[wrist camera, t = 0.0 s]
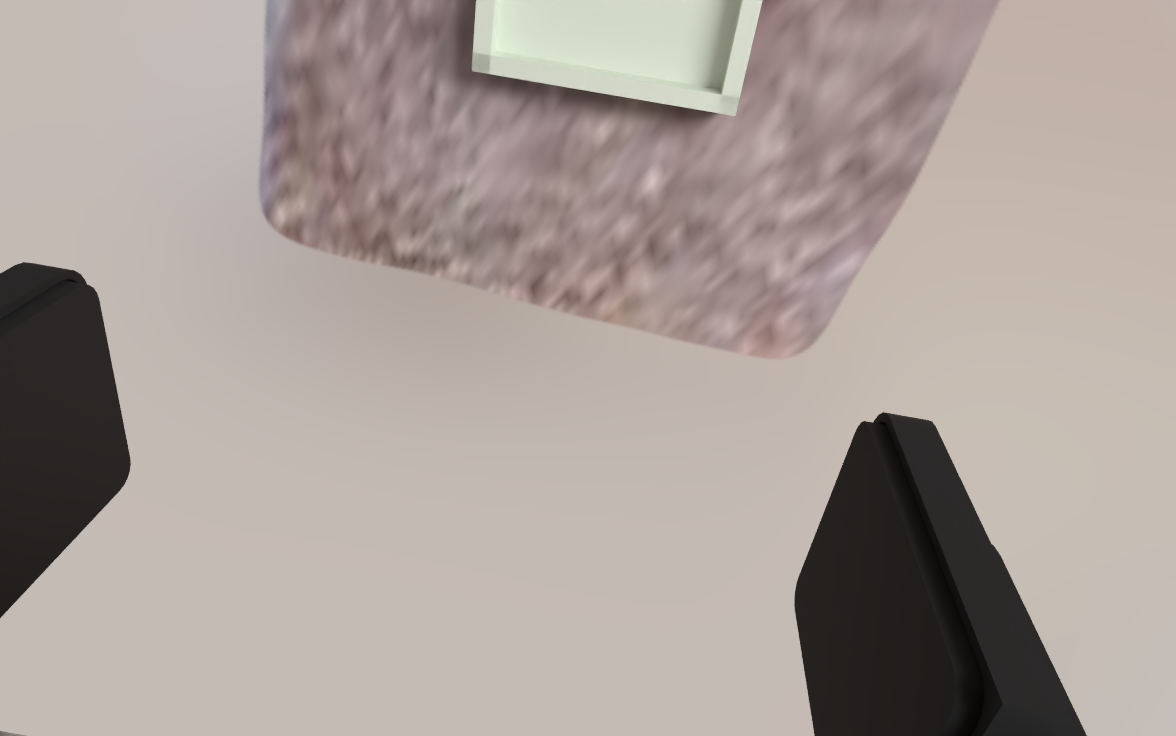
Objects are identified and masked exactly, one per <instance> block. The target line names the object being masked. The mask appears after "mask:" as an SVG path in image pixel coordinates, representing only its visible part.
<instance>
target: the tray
mask: <svg viewBox="0 0 1176 736" xmlns="http://www.w3.org/2000/svg"><path fill="white" fill-rule="evenodd" d="M761 4H762V0H476V11H475V27H474V42H473V58H472V71H474V72H480V73H486V74H492V75H498V76H504V77H510V78H515V79H521V80H527V81H533V82H539V83H545V84H551V85H556V86H562V87H568V88H574V89H580V90H586V91H591V92H597V93H603V94H609V95H615V96H621V97H627V98H632V99H638V100H644V101H650V102H656V103H662V104H667V105H673V106H679V107H685V108H691V109H697V110H703V111H708V112H714V113H720V114H726V115H732V116H735V115H736V111H737V106H738V102H739V98H740V94H741V89H742V85H743V81H744V77H745V72H746V68H747V64H748V60H749V55H750V51H751V47H752V43H753V38H754V34H755V30H756V26H757V21H758V17H759V13H760V8H761Z"/></svg>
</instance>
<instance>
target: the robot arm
mask: <svg viewBox="0 0 1176 736" xmlns="http://www.w3.org/2000/svg"><path fill="white" fill-rule="evenodd" d="M130 465H131V464H130V455H129V450H128V445H127V440H126V435H125V429H124V424H123V419H122V414H121V409H120V404H119V399H118V394H117V388H116V384H115V378H114V373H113V368H112V363H111V358H110V353H109V348H108V343H107V337H106V332H105V327H104V322H103V317H102V312H101V307H100V302H99V298H98V295H97V292H96V291H95V289H94V288H93V287H91V286H89V285H87V284H86V281H85V279H84V278H83V277H82V276H81V274H79V273H78V272H76V271H74V270H68V269H62V268H56V267H51V266H45V265H39V264H33V263H24V262H23V263H21V264H17V265H15V266H13V267H11V268H10V269H8V270H6V271H4V272H3V273H0V618H1V617H2V616H3V614H4V613H5V612H6V611H7V610H8V609H9V608H10V607H11V606H12V605H13V604H14V603H15V602H16V601H17V600H18V598H19V597H20V596H21V595H22V594H23V593H24V592H25V591H26V590H27V589H28V588H29V587H30V586H31V584H33V583H34V581H35V580H36V579H37V578H38V577H39V576H40V575H41V574H42V573H43V572H44V571H45V570H46V568H48V566H49V565H50V564H51V563H52V562H53V561H54V560H55V559H56V558H57V557H58V556H59V555H60V554H61V553H62V551H64V549H65V548H66V547H67V546H68V545H69V544H70V543H71V542H72V541H73V540H74V539H75V538H76V537H77V536H78V535H79V533H80V532H81V531H82V530H83V529H84V528H85V527H86V526H87V525H88V524H89V523H90V522H91V521H92V520H93V518H94V517H95V516H96V515H97V514H98V513H99V512H100V511H101V510H102V509H103V508H104V507H105V506H106V505H107V504H108V503H109V501H110V500H111V499H112V498H113V497H114V496H115V495H116V494H117V493H118V492H119V491H120V489H121V488H122V487H123V486H124V484H125V482H126V480H127V478H128V475H129V472H130ZM795 613H796V619H797V626H798V632H799V638H800V645H801V651H802V658H803V664H804V670H805V677H806V682H807V689H808V696H809V702H810V708H811V715H812V721H813V728H814V734H815V736H1087V735H1086V733H1085V731H1084V729H1083V727H1082V725H1081V723H1080V721H1079V719H1078V716H1077V715H1076V712H1075V710H1074V708H1073V706H1072V704H1071V702H1070V700H1069V698H1068V696H1067V694H1066V691H1065V689H1064V687H1063V685H1062V683H1061V681H1060V679H1059V677H1058V675H1057V673H1056V671H1055V668H1054V666H1053V664H1052V662H1051V660H1050V658H1049V656H1048V654H1047V652H1046V650H1045V648H1044V645H1043V643H1042V642H1041V640H1040V637H1039V635H1038V633H1037V631H1036V629H1035V627H1034V625H1033V623H1032V620H1031V618H1030V616H1029V614H1028V612H1027V610H1026V608H1025V606H1024V604H1023V602H1022V600H1021V598H1020V595H1019V594H1018V591H1017V589H1016V587H1015V585H1014V583H1013V581H1012V579H1011V577H1010V575H1009V573H1008V570H1007V568H1006V566H1005V564H1004V562H1003V560H1002V558H1001V556H1000V555H999V553H998V551H997V550H996V549H995V547H994V546H993V545H992V544H991V542H990V540H989V538H988V536H987V534H986V532H985V530H984V528H983V525H982V524H981V521H980V519H979V517H978V515H977V513H976V511H975V509H974V507H973V504H972V502H971V500H970V498H969V496H968V494H967V492H966V490H965V488H964V485H963V483H962V481H961V479H960V477H959V475H958V473H957V471H956V468H955V466H954V464H953V462H952V460H951V458H950V456H949V454H948V452H947V450H946V447H945V445H944V443H943V441H942V439H941V437H940V435H939V433H938V431H937V428H936V426H935V425H934V424H933V422H931V421H929V420H923V419H918V418H912V417H907V416H901V415H895V414H890V413H884V412H883V413H881V414H879V415H878V416H877V418H876V419H875V420H874V422H873V423H872V422H866V421H864V422H861V424H860V425H859V426H858V428H857V430H856V432H855V434H854V437H853V439H852V442H851V445H850V447H849V450H848V452H847V455H846V457H845V460H844V463H843V465H842V468H841V470H840V473H839V476H838V478H837V480H836V483H835V486H834V488H833V491H832V493H831V496H830V498H829V501H828V504H827V506H826V509H825V511H824V514H823V516H822V519H821V521H820V524H819V527H818V529H817V532H816V534H815V537H814V539H813V542H812V544H811V547H810V550H809V552H808V555H807V557H806V560H805V562H804V565H803V567H802V570H801V573H800V575H799V578H798V581H797V585H796V590H795ZM0 736H24V735H19V734H13V733H8V732H2V731H0Z"/></svg>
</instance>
